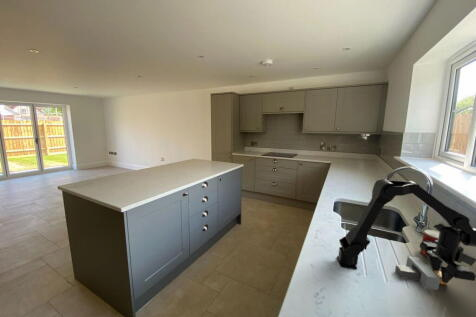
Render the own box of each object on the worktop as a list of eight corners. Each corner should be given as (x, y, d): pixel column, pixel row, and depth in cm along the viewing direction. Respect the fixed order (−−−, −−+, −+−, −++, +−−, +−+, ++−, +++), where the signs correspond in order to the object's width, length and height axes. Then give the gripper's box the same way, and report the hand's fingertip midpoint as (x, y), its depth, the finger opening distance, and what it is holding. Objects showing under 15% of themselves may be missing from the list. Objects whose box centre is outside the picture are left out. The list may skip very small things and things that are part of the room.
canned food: (416, 251, 97) (420, 231, 95) (426, 248, 99) (430, 228, 97) (436, 262, 90) (441, 239, 88) (446, 258, 92) (451, 236, 90)
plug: (400, 277, 80) (401, 270, 79) (395, 270, 83) (396, 264, 83) (447, 284, 77) (448, 277, 76) (439, 277, 80) (441, 271, 80)
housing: (425, 288, 75) (428, 276, 74) (405, 266, 86) (407, 256, 85) (437, 290, 74) (440, 278, 73) (416, 267, 85) (418, 257, 85)
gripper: (500, 262, 65) (489, 302, 68) (452, 232, 83) (445, 265, 86) (460, 256, 67) (450, 296, 70) (422, 228, 85) (415, 261, 88)
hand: (440, 278), depth 79 cm, fingers open, 4 cm apart
